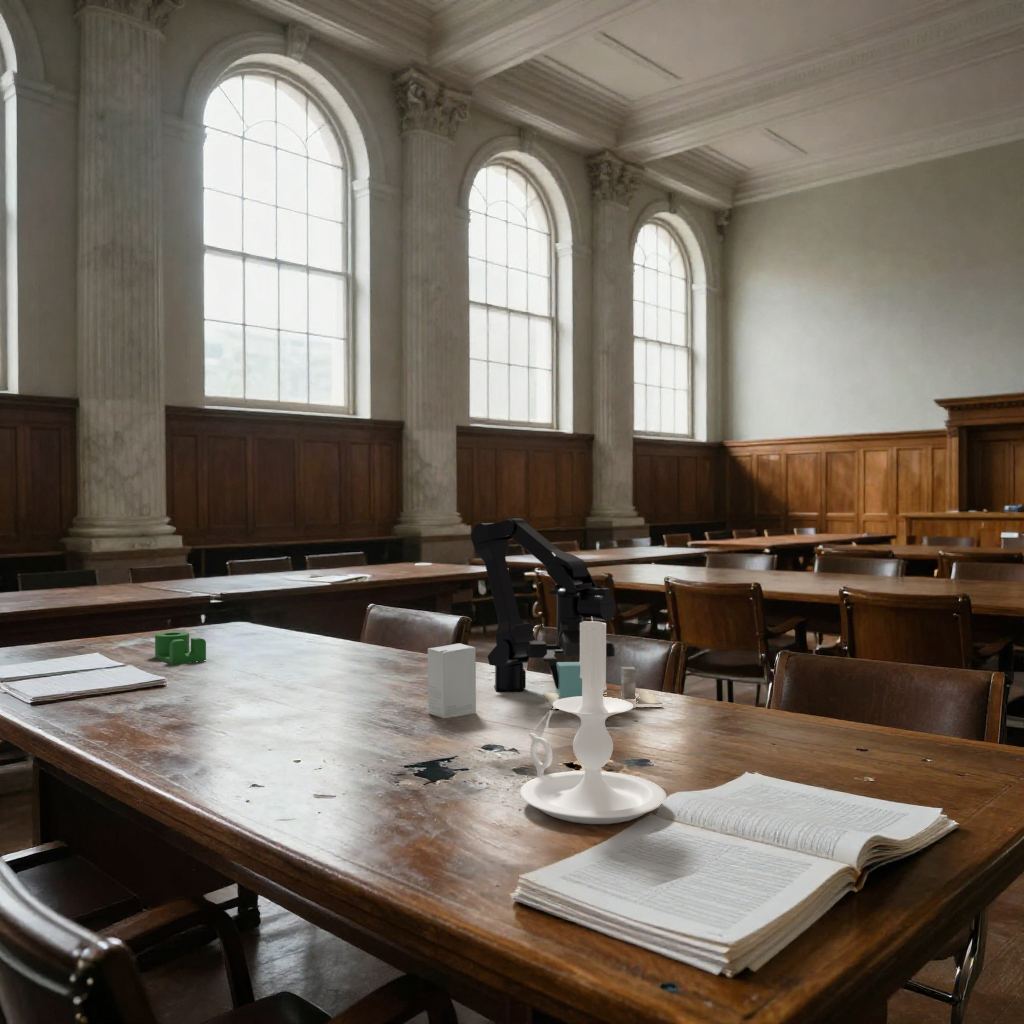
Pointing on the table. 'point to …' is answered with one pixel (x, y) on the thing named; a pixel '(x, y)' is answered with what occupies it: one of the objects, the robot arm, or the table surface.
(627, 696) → the post stand
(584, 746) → the candlestick
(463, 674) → the skincare box
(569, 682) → the teal rectangular block
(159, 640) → the slotted cylinder bracket
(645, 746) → the table surface
